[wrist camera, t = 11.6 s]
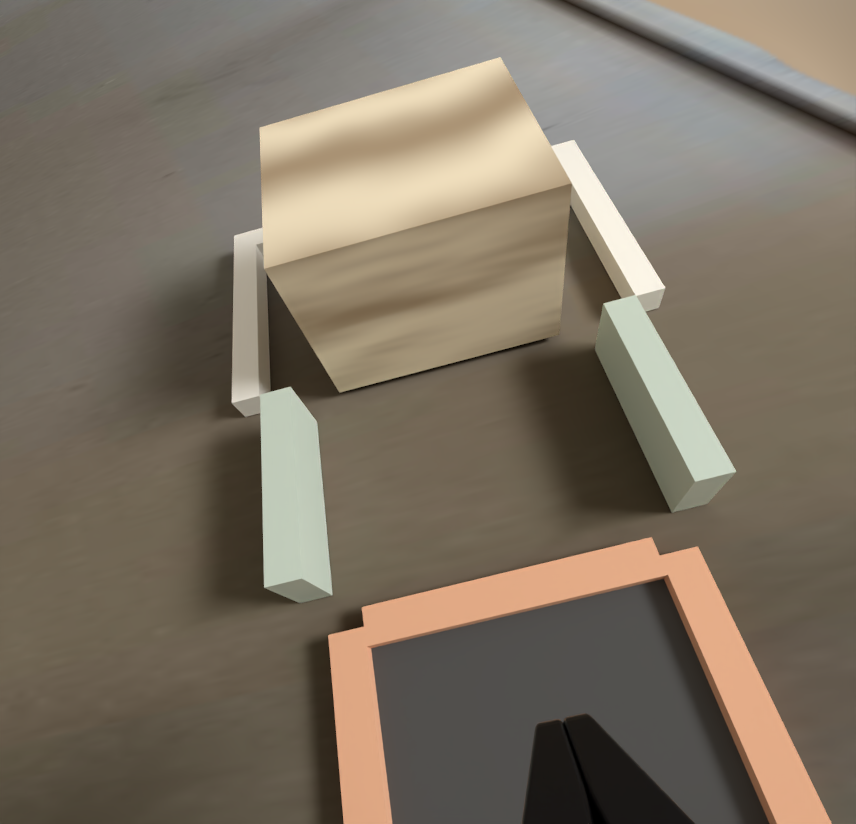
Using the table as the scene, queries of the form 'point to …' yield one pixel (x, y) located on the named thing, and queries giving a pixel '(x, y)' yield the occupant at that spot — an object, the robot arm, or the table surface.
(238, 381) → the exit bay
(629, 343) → the sage guide walls
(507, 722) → the frame
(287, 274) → the maple block
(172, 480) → the table surface
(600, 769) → the robot arm
